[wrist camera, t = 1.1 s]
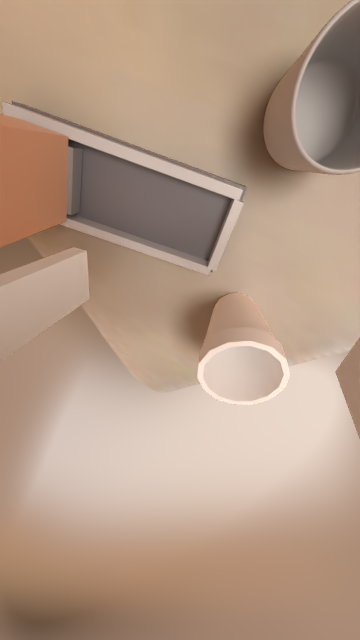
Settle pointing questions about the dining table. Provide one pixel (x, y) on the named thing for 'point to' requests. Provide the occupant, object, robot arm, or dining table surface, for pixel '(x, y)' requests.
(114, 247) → the dining table surface
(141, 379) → the dining table surface
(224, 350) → the foam cup
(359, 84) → the mug
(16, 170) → the large orange block
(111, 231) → the shallow rimmed tray
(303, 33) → the dining table surface
